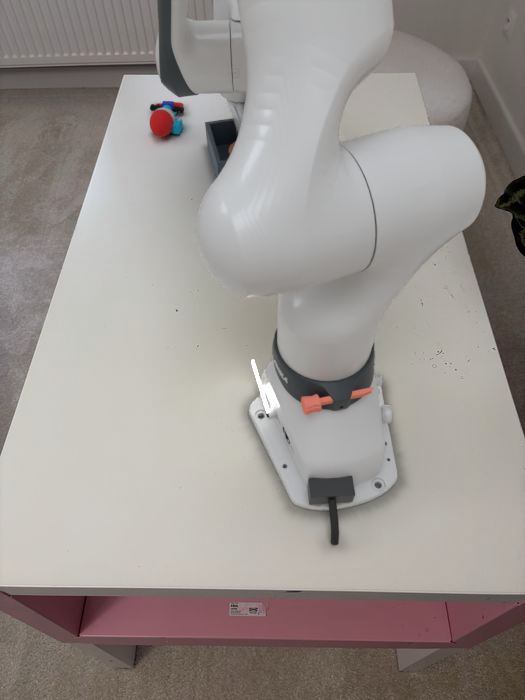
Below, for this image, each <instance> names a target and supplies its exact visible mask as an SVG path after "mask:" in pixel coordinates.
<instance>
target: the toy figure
mask: <svg viewBox="0 0 525 700" xmlns="http://www.w3.org/2000/svg"><path fill="white" fill-rule="evenodd" d="M149 110H150V111H151V112H152V113H151V115H150V117H149V128H150V131H151V132H152V134H153V135H155V136H156V137H159V138H164V137H166V136H168V135H169V134H170V133H172V134H173V135H179V134H180V133H181V132H182V130H183V128H184V127H183V126H184V125H183V119H182V118H180V119H179V120H178V118H176V117H177V116H178V114H179V113H181V114H183V113H184V111H185V108H184V103H183V102H180V101H179V102H177V101H173V100H163V101H162V102H161V103H155V104H154V103H151V104H150V106H149Z"/></svg>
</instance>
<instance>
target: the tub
mask: <svg viewBox="0 0 525 700" xmlns="http://www.w3.org/2000/svg"><path fill="white" fill-rule="evenodd" d="M204 127H205V128H204V129H205V134H206V135H205V136H206V137H205V138H206V145H207V150H208V153H209V157H210V161H211V164H212V168H213V171H214V174H215V179H216V178H217V177H218V175H219V174H220V172H221V171H222V169H223V167H224V166H225V164H226V162H227V160H228V158H229V151H228V149H229V146H230V145H231V144H232V143H233V142H235V141H236V140H237V137H238V136H237V131H236V125H235V123H234V120H233V117H232V118H225V119H217V120H211V121H205V122H204Z"/></svg>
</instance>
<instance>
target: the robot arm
mask: <svg viewBox="0 0 525 700" xmlns="http://www.w3.org/2000/svg"><path fill="white" fill-rule="evenodd" d="M188 2H189V0H157V18H158V21H157V23H158V31H157V36H156V42H155V49H154V50H155V53H154V55H155V57H154V59H155V66H156V72H157V75H158V78H159V79H160V83H161V84H162V85H163V86H164V87H165V88H166V89H167V90H168V91H170V93H172V94H173V95H175V96H176V97H178V98H184V97H192V96H199V95H209V94H211V95H212V94H214V95H215V94H220V96H222V97H223V98H224V99H225V100H226V103H227V106H228V108H229V111H230V113H231V117H232V118H233V120H234V123H235V125H236V131H237V136H238V137H237V140H236V143H235V145H234V148H233V150H232V153H231V155H230V156H229V158H228V160H227V162H226V164H225V166H224V167H223V169H222V171H221V172H220V174H219V175H218V177H217V178H216V177H215V179H214V181H213V182H212V183H211V185H209V187H207V190H206V192H205V194H204V196H203V198H202V200H201V202H200V205H199V209H198V213H197V218H196V228H195V229H196V230H195V231H196V243H197V246H198V251H199V254H200V258H201V259H202V261H203V264H204V265H205V267H206V269H207V270H208V272H209V273H210V275H211V276H212V277H213V279H214V280H215V281H216V282H217V283H218V285H220V286H221V287H222V288H224V289H225V290H226V291H228V292H230V293H231V294H232V295H234V296H236V297H238V298H240V299H253V298H263V297H274V296H278V299H277V324H276V325H277V326H276V329H275V332H274V335H273V339H272V344H271V345H272V346H271V352H272V353H271V354H272V359H271V361H269V364H268V365H267V366H266V367H265V369H264V370H263V372H262V374H261V378H260V376H259V372H258V368H257V365H256V362H255V359H251V366H252V370H253V373H254V375H255V379H256V383H257V386H258V389H259V395H258V396H257V397H256V398H255V399H254V400H253V401H252V402H251V403H250V406H249V408H248V414H249V415H248V416H249V417H250V419H251V421H252V423H253V426H254V428H255V430H256V431H257V434H258V436H259V438H260V440H261V442H262V444H263V446H264V449H265V451H266V452H267V454H268V456H269V458H270V460H271V462H272V465H273V467H274V469H275V471H276V472H277V475H278V477H279V479H280V481H281V483H282V486H283V488H284V490H285V492H286V493H287V495H288V497H289V499H290V501H291V503H292V504H293V505H294V506H297V507H299V508H302V509H305V510H310V511H320V512H321V511H328V512H329V520H330V521H329V522H330V544H331V545H332V546H338V545H339V540H340V526H339V515H338V510H342V509H347V508H352V507H355V506H359V505H363V504H365V503H369V502H371V501H373V500H376V499H378V498H379V497H381V496H383V495H384V494H386V493H387V492H388V491H389V490H390V489H391V488H392V487H393V486H394V485H395V484H396V482H397V481H398V476H399V475H398V468H397V463H396V458H395V452H394V448H393V442H392V437H391V431H390V426H389V424H391V423H393V421H394V412H393V411H394V410H393V408H392V405H390V404H386V403H385V399H384V393H383V389H382V386H383V382H384V381H383V376H382V375H381V374H377V375H376V370H375V366H376V350H375V339H376V337H377V335H378V330H379V328H380V325H381V323H382V320H383V318H384V316H385V314H386V312H387V311H388V309H389V308H390V306H391V305H392V303H394V301H395V299H396V298H397V297H398V296H399V295H400V294H401V293H402V291H403V290H404V288H405V287H406V286H408V284H409V282H410V281H411V280H412V279H413V278H414V276H415V275H417V274H418V272H419V270H420V269H422V268H423V266H425V264H426V263H427V262H428V261H429V260H430V259H431V258H432V257H433V256H434V255H435V254H436V253H437V252H438V251H439V250H441V249H442V248H443V247H444V246H445V245H447V243H449V242H450V241H451V240H453V239H454V238H455V237H456V236H458V235H459V234H461V232H463V231H464V230H466V229H468V228H469V227H470V226H471V225H473V223H474V222H475V221H476V219H477V218H478V217H479V214H480V212H481V209H482V207H483V204H484V201H485V196H486V188H487V173H486V168H485V164H484V160H483V157H482V155H481V153H480V151H479V149H478V147H477V145H476V144H475V143H474V142H473V140H472V139H471V138H470V137H469V135H468V134H467V133H466V132H465V131H463V130H461V129H460V128H459V127H456V126H455V125H449V124H433V125H432V124H421V125H400V126H396V127H391V128H389V129H385V130H381V131H377V132H374V133H370V134H366V135H360V136H358V137H354V138H350V139H346V140H342V141H340V127H341V123H342V117H343V114H344V110H345V108H346V105H347V103H348V101H349V99H350V97H351V95H352V93H353V92H354V91H355V90H356V89H357V88H358V87H359V86H360V85H361V84H362V83H364V82H365V81H366V80H367V79H368V78H369V77H370V76H371V75H372V74H373V73H374V72H375V71H376V70H377V69H378V67H379V66H380V65H381V64H382V62H383V61H384V59H385V57H386V55H387V53H388V52H389V49H390V47H391V43H392V40H393V35H394V29H395V19H394V17H395V16H394V7H393V0H212V19H210V20H209V19H207V20H197V19H196V20H195V19H191V18H188V8H189V7H188V5H189V3H188ZM260 417H263V418H260ZM376 485H379V487H376Z"/></svg>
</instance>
